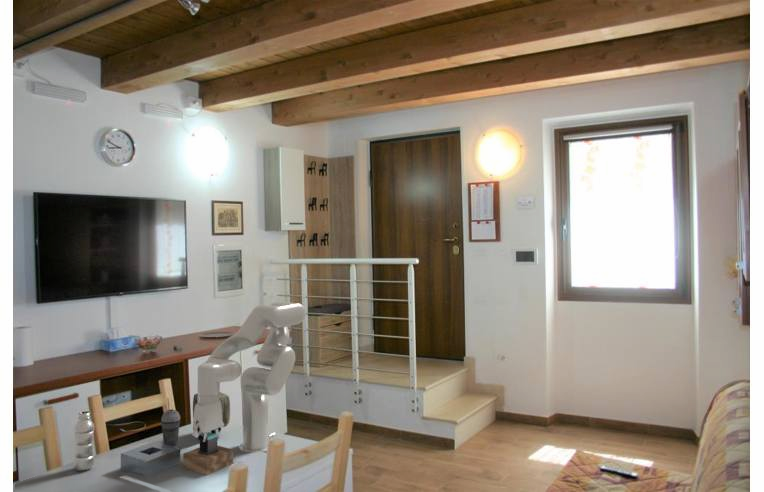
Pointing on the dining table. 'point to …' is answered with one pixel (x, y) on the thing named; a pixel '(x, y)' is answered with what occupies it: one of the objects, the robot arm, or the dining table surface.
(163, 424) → the beverage cup
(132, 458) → the socket block
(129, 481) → the dining table surface
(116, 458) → the dining table surface
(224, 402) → the tabletop clock
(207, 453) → the plug
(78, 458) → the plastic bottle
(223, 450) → the wooden square hole block
